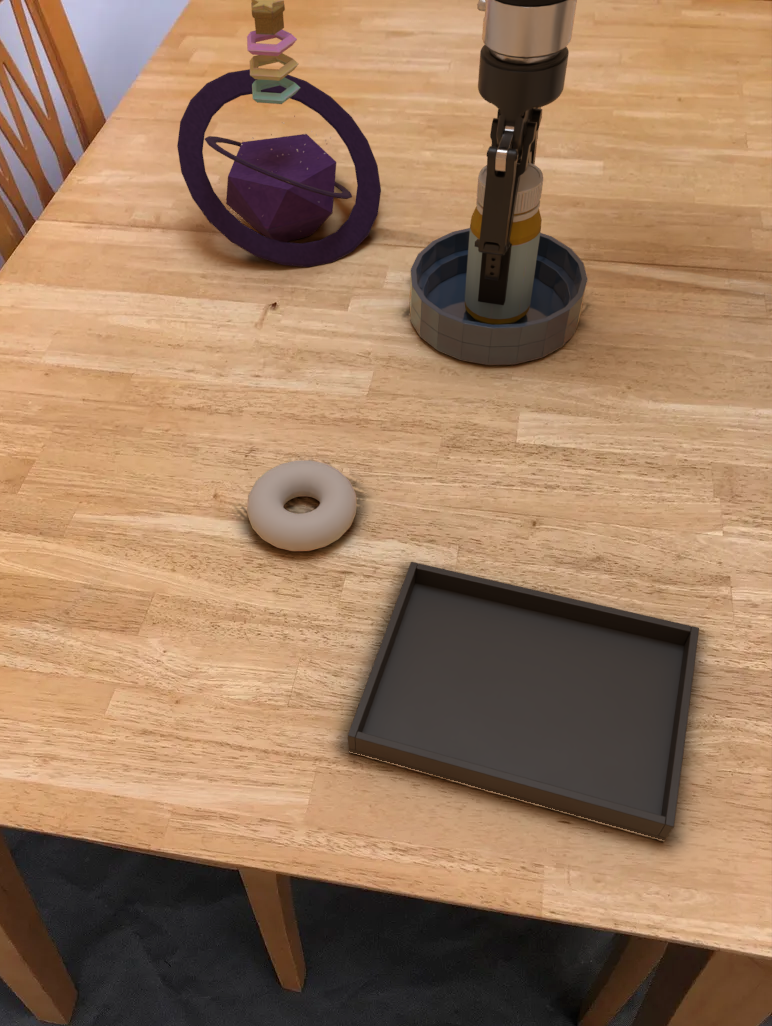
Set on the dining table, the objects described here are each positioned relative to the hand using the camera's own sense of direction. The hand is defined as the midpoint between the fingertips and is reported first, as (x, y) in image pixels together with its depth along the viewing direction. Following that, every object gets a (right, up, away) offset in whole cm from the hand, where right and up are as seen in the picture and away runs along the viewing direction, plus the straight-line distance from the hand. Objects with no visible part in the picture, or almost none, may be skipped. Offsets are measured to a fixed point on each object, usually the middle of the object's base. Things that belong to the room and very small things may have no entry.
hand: (499, 279), depth 97 cm
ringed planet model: (-23, +11, +16) cm, 30 cm away
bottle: (0, -2, +3) cm, 4 cm away
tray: (-3, -42, -26) cm, 49 cm away
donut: (-20, -26, -13) cm, 36 cm away
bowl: (0, -3, +4) cm, 4 cm away
